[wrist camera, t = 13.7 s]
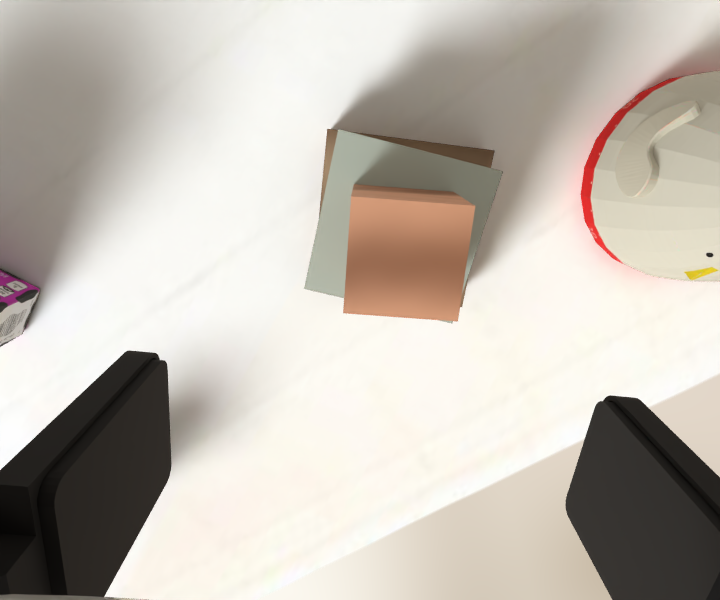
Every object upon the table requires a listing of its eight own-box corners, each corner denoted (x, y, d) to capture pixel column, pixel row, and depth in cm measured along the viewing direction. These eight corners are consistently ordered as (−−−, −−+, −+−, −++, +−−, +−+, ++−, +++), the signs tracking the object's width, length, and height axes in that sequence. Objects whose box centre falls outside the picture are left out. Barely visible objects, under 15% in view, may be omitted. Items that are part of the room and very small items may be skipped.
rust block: (353, 184, 28) (351, 196, 23) (453, 191, 28) (475, 205, 23) (347, 279, 30) (343, 313, 25) (440, 286, 30) (457, 321, 25)
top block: (341, 129, 31) (338, 129, 27) (488, 167, 31) (503, 171, 28) (310, 273, 34) (304, 288, 31) (444, 305, 34) (452, 323, 31)
